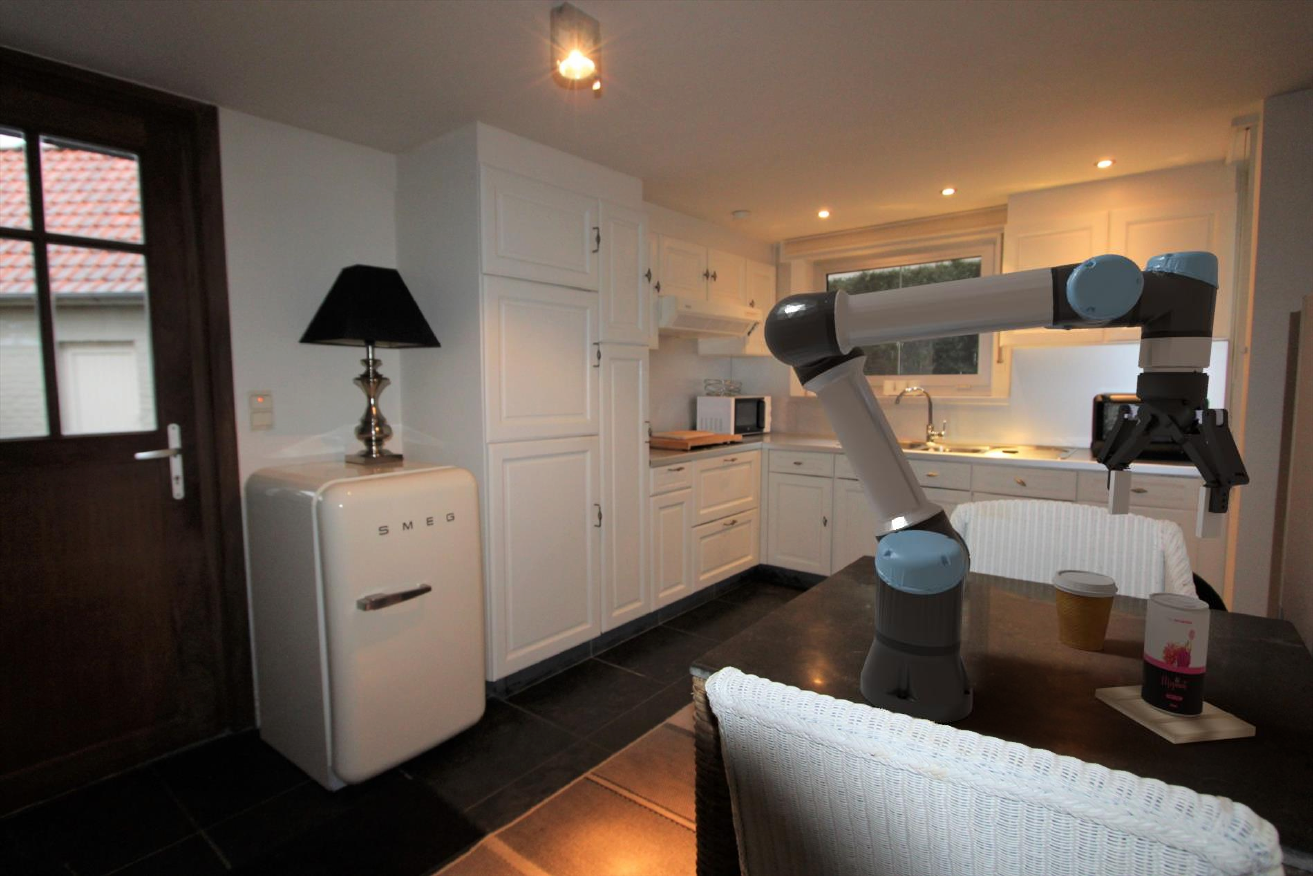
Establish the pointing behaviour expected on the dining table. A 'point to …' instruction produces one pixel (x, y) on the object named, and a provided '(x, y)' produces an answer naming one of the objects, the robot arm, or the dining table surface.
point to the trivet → (1176, 718)
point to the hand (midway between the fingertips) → (1159, 524)
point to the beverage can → (1175, 654)
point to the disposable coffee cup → (1083, 607)
